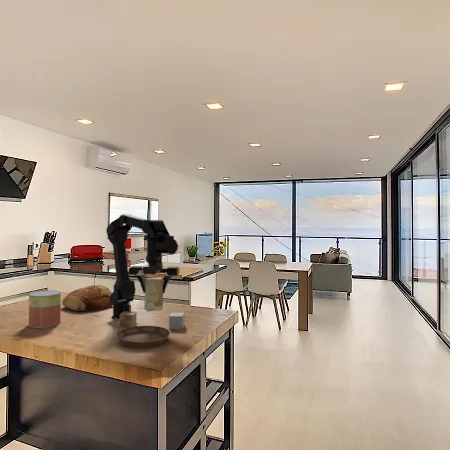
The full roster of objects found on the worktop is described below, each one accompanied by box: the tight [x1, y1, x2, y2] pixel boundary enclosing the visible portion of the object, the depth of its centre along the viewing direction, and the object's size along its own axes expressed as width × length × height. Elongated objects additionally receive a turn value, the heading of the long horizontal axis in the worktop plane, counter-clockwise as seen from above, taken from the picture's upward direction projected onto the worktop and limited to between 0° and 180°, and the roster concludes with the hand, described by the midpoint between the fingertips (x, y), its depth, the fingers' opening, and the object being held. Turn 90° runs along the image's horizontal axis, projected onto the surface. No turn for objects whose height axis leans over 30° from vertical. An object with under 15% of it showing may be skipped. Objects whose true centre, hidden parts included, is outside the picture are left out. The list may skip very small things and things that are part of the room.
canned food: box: [27, 289, 62, 329], centre depth 142 cm, size 11×11×12 cm
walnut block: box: [119, 311, 137, 329], centre depth 140 cm, size 5×5×5 cm
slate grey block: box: [168, 312, 186, 330], centre depth 139 cm, size 5×5×5 cm
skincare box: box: [144, 277, 164, 313], centre depth 139 cm, size 6×4×12 cm
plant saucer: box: [115, 325, 171, 349], centre depth 123 cm, size 18×18×3 cm
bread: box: [61, 284, 113, 312], centre depth 170 cm, size 20×18×10 cm
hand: (154, 293), depth 139 cm, fingers closed on skincare box, 7 cm apart
